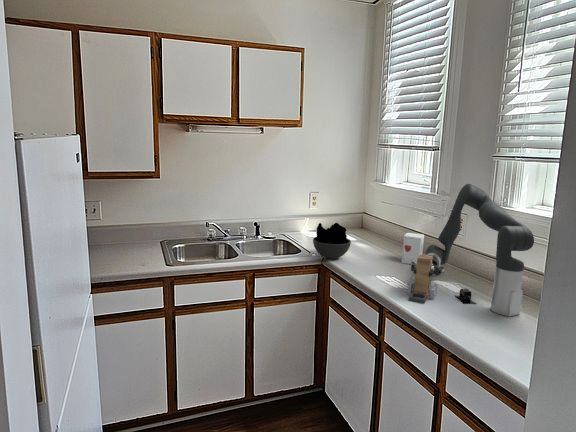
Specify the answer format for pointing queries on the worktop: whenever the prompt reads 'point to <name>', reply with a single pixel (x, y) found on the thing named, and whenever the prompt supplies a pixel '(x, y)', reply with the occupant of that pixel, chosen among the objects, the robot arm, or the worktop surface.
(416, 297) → the trap pit
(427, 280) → the walnut block
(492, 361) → the worktop surface
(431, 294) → the grey cradle
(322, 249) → the heaped charcoal-grey bowl
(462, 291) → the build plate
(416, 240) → the supplement box
